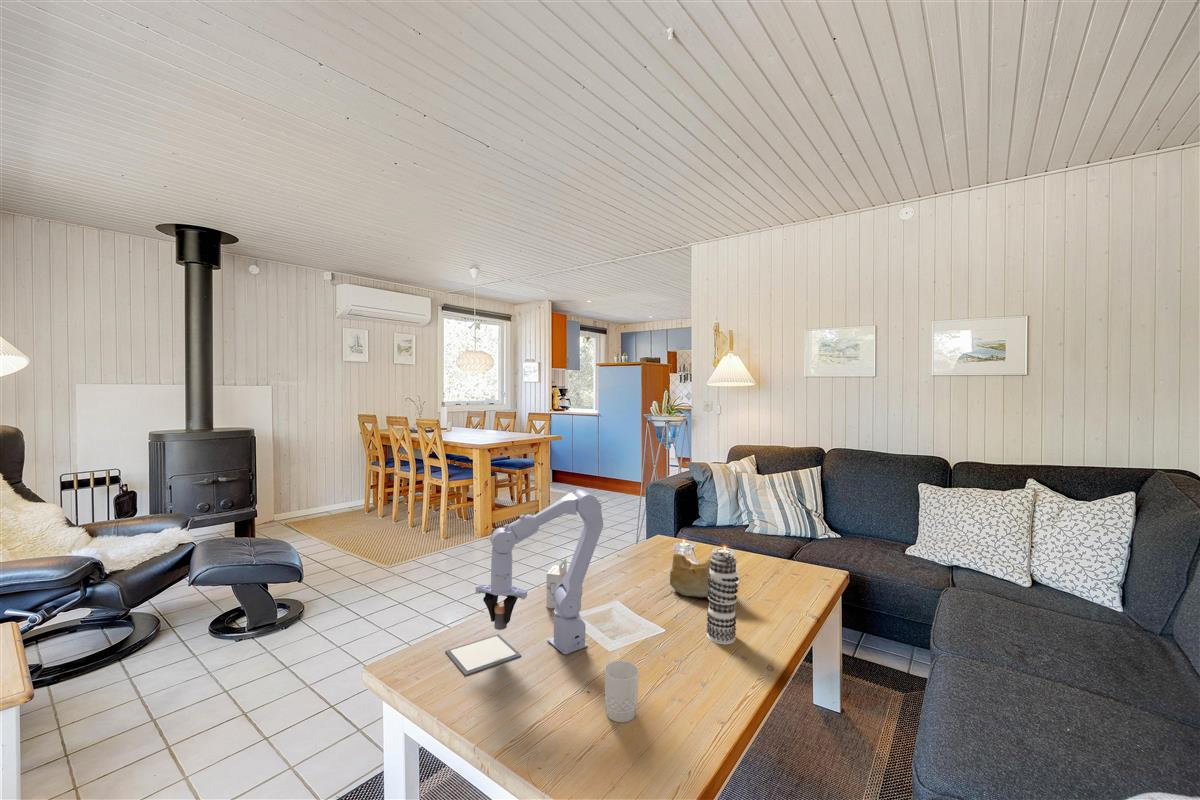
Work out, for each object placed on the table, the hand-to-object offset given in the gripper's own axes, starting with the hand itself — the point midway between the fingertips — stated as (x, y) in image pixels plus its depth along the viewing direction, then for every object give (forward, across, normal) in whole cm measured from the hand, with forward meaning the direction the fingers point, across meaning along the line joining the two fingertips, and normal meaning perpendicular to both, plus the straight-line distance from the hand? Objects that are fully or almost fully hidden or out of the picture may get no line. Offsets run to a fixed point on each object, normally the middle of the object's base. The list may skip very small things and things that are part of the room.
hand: (500, 621), depth 137 cm
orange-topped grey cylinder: (+2, 0, 0) cm, 2 cm away
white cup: (+9, -37, +17) cm, 42 cm away
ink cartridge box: (+9, -6, -34) cm, 36 cm away
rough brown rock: (+9, -55, -56) cm, 79 cm away
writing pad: (+9, +4, +2) cm, 10 cm away
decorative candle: (+9, -60, -25) cm, 66 cm away
